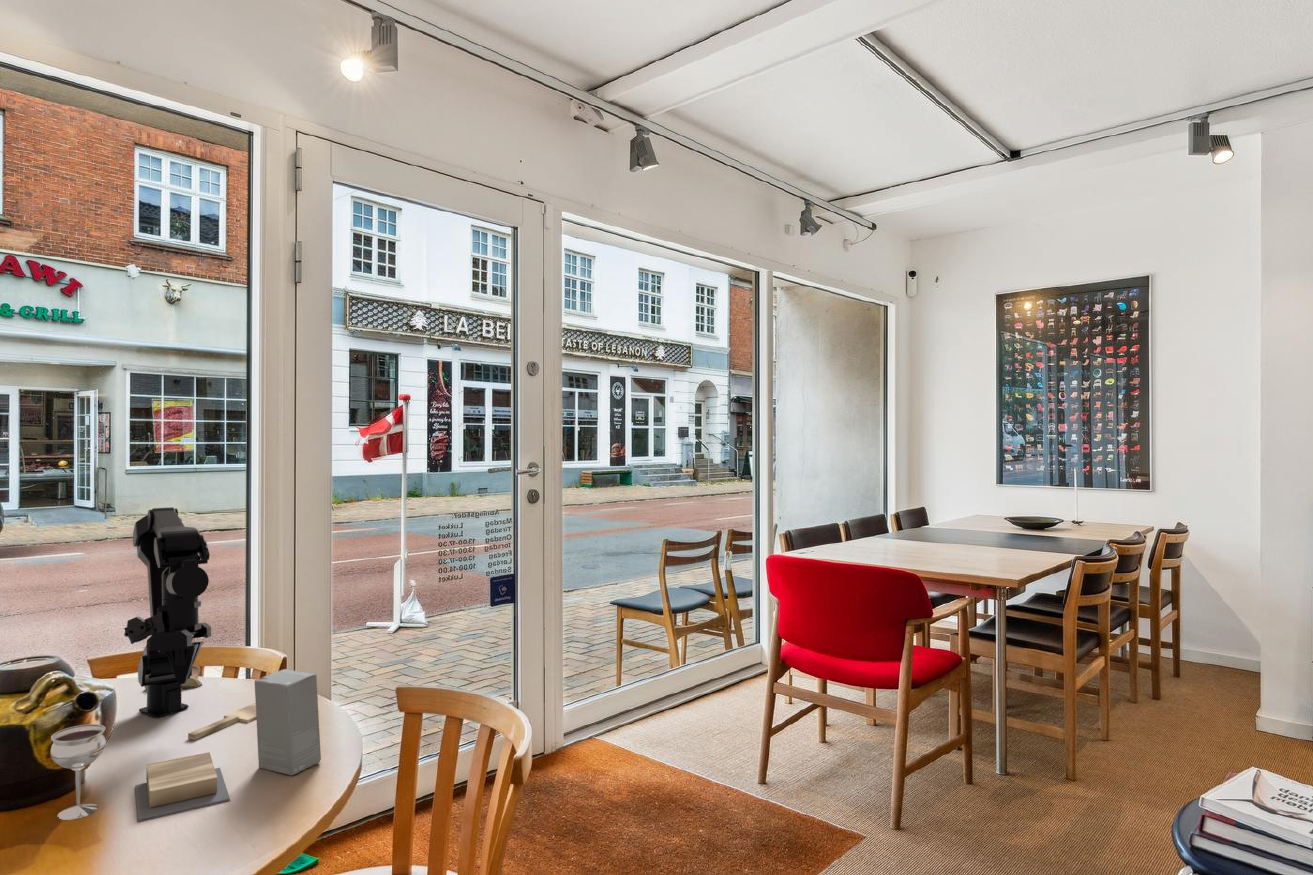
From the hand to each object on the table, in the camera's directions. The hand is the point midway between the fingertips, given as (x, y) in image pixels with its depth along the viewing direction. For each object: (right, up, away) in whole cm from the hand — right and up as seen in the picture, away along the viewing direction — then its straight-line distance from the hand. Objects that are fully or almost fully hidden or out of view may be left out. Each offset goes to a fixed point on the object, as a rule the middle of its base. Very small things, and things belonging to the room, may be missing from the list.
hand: (181, 684), depth 144 cm
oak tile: (+8, -9, -13) cm, 18 cm away
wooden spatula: (+4, -11, +11) cm, 16 cm away
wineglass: (0, -12, -25) cm, 28 cm away
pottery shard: (-20, -10, +31) cm, 38 cm away
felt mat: (+12, -11, -19) cm, 25 cm away
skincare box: (+23, -12, -9) cm, 28 cm away
